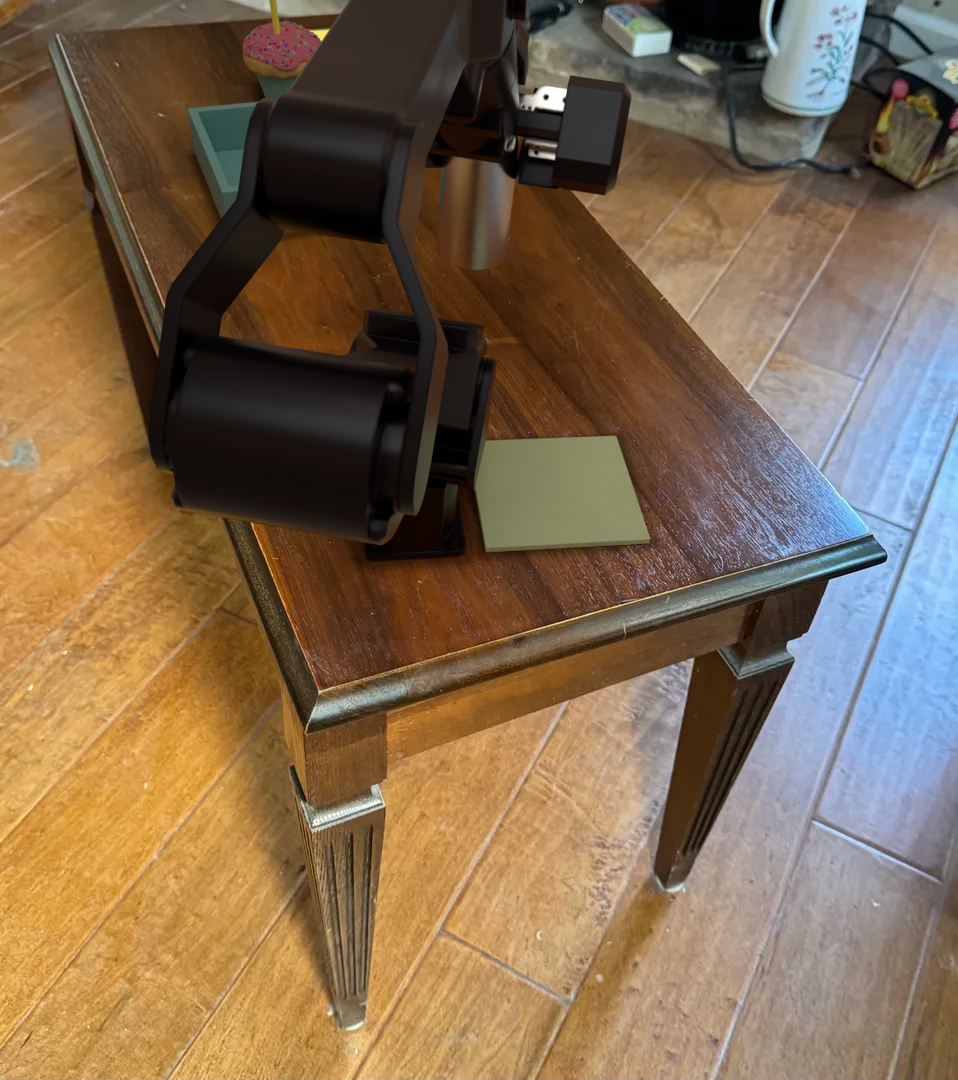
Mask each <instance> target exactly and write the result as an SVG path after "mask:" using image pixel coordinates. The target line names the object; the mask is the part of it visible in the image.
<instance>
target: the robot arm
mask: <svg viewBox="0 0 958 1080" xmlns="http://www.w3.org/2000/svg"><path fill="white" fill-rule="evenodd" d="M533 1H534V0H348V1H347V2H346V4H345V6H344V7H343V8H342V10H341V12H340V13H339V15H338V16H337V17H336V19H335V21H334V22H333V24H332V25H331V26H330V28H329V30H328V31H327V33H326V34H325V35H324V36H323V38H322V40H321V43H320V44H319V46H318V47H317V49H316V50H315V52H314V53H313V55H312V56H311V58H310V59H309V61H308V62H307V63H306V65H305V66H304V68H303V69H302V71H301V72H300V74H299V75H298V77H297V78H296V80H295V81H294V83H293V84H292V86H291V87H290V89H289V90H288V92H286V93H283V94H282V95H281V96H280V97H279V98H278V99H277V100H276V99H269V98H265V97H263V98H261V99H260V100H259V101H257V102H258V103H257V104H256V106H255V108H254V110H253V112H252V114H251V117H250V120H249V125H248V129H247V134H246V138H245V145H244V152H243V159H242V166H241V173H240V180H239V187H238V194H237V198H236V200H235V201H234V203H233V204H232V205H231V207H230V208H229V209H228V211H227V212H226V213H225V215H224V216H223V217H222V218H221V217H220V220H218V222H217V224H216V225H215V226H214V227H213V229H212V230H211V232H210V233H209V234H208V235H207V237H206V238H205V239H204V241H202V243H201V245H199V247H198V249H197V250H196V251H195V252H194V253H193V255H192V257H190V259H189V260H188V261H187V263H186V264H185V265H184V267H183V268H182V270H180V272H179V273H178V275H177V276H176V277H175V279H174V280H173V281H172V282H171V284H170V287H169V289H168V291H167V294H166V297H165V303H164V311H163V312H164V313H163V318H162V325H161V332H160V339H159V346H158V354H157V361H156V369H155V375H154V383H153V389H152V397H151V403H150V404H151V405H150V412H149V421H148V425H149V426H148V444H149V451H150V457H151V459H152V461H153V463H154V465H155V468H156V469H157V470H159V471H161V472H163V473H164V474H168V475H173V481H174V485H173V488H172V491H171V494H170V500H171V501H172V503H173V505H174V506H175V507H176V508H177V509H179V510H180V511H183V512H187V513H192V514H198V515H205V516H210V517H215V518H222V519H229V520H233V521H238V522H244V523H250V524H256V525H262V526H268V527H274V528H280V529H285V530H289V531H290V530H291V531H296V532H302V533H309V534H314V535H319V536H326V537H331V538H337V539H341V540H348V541H354V542H358V543H359V542H361V543H363V545H362V546H363V555H364V558H366V559H367V560H369V561H378V560H379V561H380V560H381V561H382V560H399V559H416V558H417V559H418V558H434V557H452V556H462V555H463V554H465V553H466V550H467V541H466V535H465V530H464V523H463V516H462V511H461V505H460V499H459V492H458V490H459V487H465V489H466V490H473V491H474V489H475V485H476V481H477V477H478V472H479V468H480V464H481V460H482V455H483V451H484V447H485V443H486V441H487V437H488V436H487V435H488V430H489V423H490V422H489V421H490V416H491V409H492V402H493V401H492V400H493V394H494V386H495V380H496V371H497V358H493V357H489V356H488V357H487V351H488V342H487V339H486V338H485V337H484V332H485V324H479V323H474V322H473V323H472V322H466V321H459V320H454V319H447V318H441V317H438V313H437V311H436V308H435V306H434V303H433V301H432V298H431V295H430V293H429V289H428V286H427V284H426V282H425V278H424V277H423V274H422V271H421V268H420V265H419V263H418V259H417V258H416V254H415V246H416V239H417V233H418V225H419V220H420V215H421V214H420V213H421V208H422V201H423V192H424V185H425V178H426V168H427V169H441V160H442V155H447V156H453V157H460V158H466V159H473V160H479V161H486V162H492V163H499V164H503V163H504V157H505V152H513V151H514V150H515V145H516V136H520V138H522V140H521V142H520V145H519V149H518V158H517V166H516V172H515V177H514V179H515V182H516V183H517V184H519V185H524V186H531V187H538V188H545V189H550V190H559V189H563V190H567V191H573V192H580V193H585V194H590V195H591V194H592V195H598V196H606V195H607V194H608V193H610V192H612V191H614V189H615V188H616V186H617V185H616V184H617V180H618V176H619V172H620V171H619V170H620V165H621V161H622V154H623V149H624V143H625V137H626V133H627V126H628V120H629V115H630V110H631V103H632V98H633V95H632V93H631V92H630V90H629V88H628V86H627V85H626V82H620V81H614V80H613V81H612V80H606V79H599V78H592V77H586V76H580V75H569V79H568V82H567V87H561V86H560V87H559V86H554V85H553V86H552V85H543V86H540V87H536V86H535V87H534V88H533V91H532V92H533V93H532V94H529V93H521V92H519V91H520V90H519V86H524V87H525V86H526V83H527V77H528V72H529V66H530V65H529V64H530V63H529V44H530V43H529V42H530V34H529V33H528V25H529V21H530V18H531V12H532V5H533ZM522 109H523V110H522ZM286 230H287V231H294V232H301V233H307V234H313V235H319V236H320V235H321V236H325V237H332V238H338V239H345V240H352V241H358V242H363V243H370V244H377V245H383V246H384V245H387V248H388V251H389V253H390V256H391V258H392V261H393V263H394V266H395V269H396V272H397V274H398V278H399V280H400V283H401V285H402V289H403V291H404V294H405V297H406V299H407V302H408V304H409V306H410V309H411V312H412V313H410V312H404V311H397V310H392V309H391V310H390V309H385V308H379V307H374V308H373V310H369V309H367V310H364V311H363V317H362V319H363V320H362V328H361V330H359V332H357V336H355V338H354V339H353V341H352V343H351V346H350V350H349V352H348V353H346V354H342V355H338V354H333V353H327V352H321V351H314V350H309V349H303V348H298V347H297V348H296V347H291V346H284V345H278V344H272V343H266V342H260V341H253V340H247V339H241V338H235V337H230V336H223V335H221V334H220V332H221V327H222V325H221V324H222V319H223V316H224V314H226V312H227V310H228V309H229V308H230V307H231V306H232V304H233V303H234V301H235V300H236V299H237V298H238V296H240V294H241V292H242V290H244V288H245V287H246V286H247V285H248V283H249V282H250V281H251V279H253V277H254V276H255V274H257V272H258V271H259V269H260V268H261V267H262V265H263V264H264V263H265V261H266V260H267V259H268V258H269V256H270V255H271V254H272V253H273V251H274V250H275V248H276V247H277V246H278V245H279V243H280V242H281V240H282V238H283V236H284V233H285V231H286Z"/></svg>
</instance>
